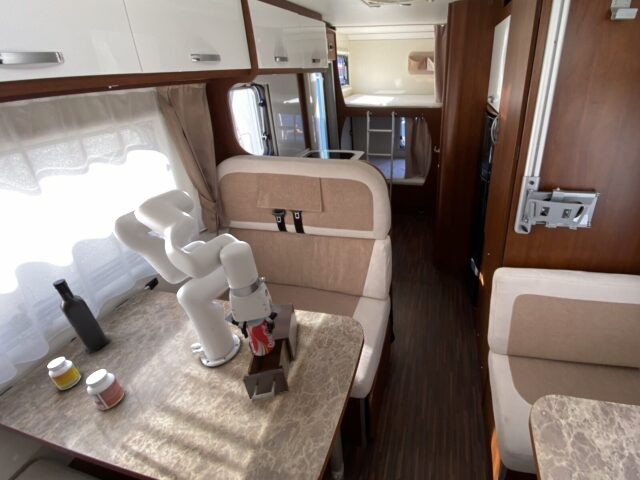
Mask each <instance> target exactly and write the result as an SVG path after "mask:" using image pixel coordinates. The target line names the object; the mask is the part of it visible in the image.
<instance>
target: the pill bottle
mask: <svg viewBox="0 0 640 480" xmlns="http://www.w3.org/2000/svg"><path fill="white" fill-rule="evenodd" d="M85 383H86V386H87V389H86V391H87V393H88V395H89V396H90V398H91V399H92V401H94V403H95V404H96V406H97V407H98V409H99V410H103V411H105V410H109V409H111V408H113V407H115V406H116V405H117V404H118V403H120V401H122V399H123V397H124V395H125V391H124V389H123V388H122V386H121V384H120V382H118V380H117V378H116V377H115V375H114V374H113V373H110V372H108V371H107V370H106V369H104V368H102V369H99V370H96V371H94V372H92V373H91V374H90V375H89V376H88V377H87V379H86V380H85Z"/></svg>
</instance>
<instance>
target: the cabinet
mask: <svg viewBox="0 0 640 480" xmlns="http://www.w3.org/2000/svg"><path fill="white" fill-rule="evenodd" d="M280 305H281V306H282V310H281V312H280V313H279V314H278V315H277V317H276V318H275V319H274V323H275V329H273V332H272V335H273V339H274V342H275V341H280V340H285V339H287V342H288V346H289V350H290V360H289V361H293V360H295V356H296V355H295V354H296V347H297V336H298V335H297V334H298V324H299V323H298V320H297V316H296V311H295V307H294V303H293V302H291V303H286V304H280ZM273 311H274V309H272V308H271V312H273ZM248 347H249V350H250V353H251V355H252V351H253V349H252V346H251V343H250V341H249V342H248Z"/></svg>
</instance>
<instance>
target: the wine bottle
mask: <svg viewBox="0 0 640 480" xmlns="http://www.w3.org/2000/svg"><path fill="white" fill-rule="evenodd" d="M52 286H53V287H54V289H55V290H56V291H57V293H58V294H59V296H60V298H61V300H62V301H61V302H60V304H59V307H60V308H59V309H60V310H61V311H62V313H63V315H64V317H65V318H66V319H67V321H68V323H69V324H70V326H71V327H72V329H73V331H74V332H75V333H76V336H77V337H78V338H79V340H80V341H81V343H82V344H83V346H84V348H85V349H86V350H87V351H88V352H89V353H93V352H96V351H97V350H99V349H100V348H102V347H104V346H105V345H107V344H108V343H109V340H108V338H107V336H106V334H105V333H104V331H103V329H102V326H100V323H99V322H98V320H97V319H96V318H95V316H94V313H93V312H92V310H91V309H90V307H89V306H88V304H87V302H86V300H84V298H83V297H82V296H81V295H77V294H74V293H73V292H72V290H71V288H70V287H69V285H68V282H67V281H66V279H65V278H61V279H57V280H55V281H54V282H52Z"/></svg>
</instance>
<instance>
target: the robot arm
mask: <svg viewBox="0 0 640 480" xmlns="http://www.w3.org/2000/svg"><path fill="white" fill-rule="evenodd" d="M194 204H195V203H194V200H193V198H192V197H191V195H189V193H188V192H186V191H184V190H182V189H177V188H176V189H171V190H168V191H166V192H162V193H160V194H158V195H154V196H152V197H150V198H149V197H148V198H147V199H145V200H143V201H142V202H140V203H139V204H138V205H137V206H136V207H135V208H133V209H129V210H128V211H126V212H123V213H122V214H119V215H118V216H116V217H115V218H114V219H113V220H112V221H111V224H110V228H111V231H112V233H113V235H114V236H115V238H116V240H118V241H119V243H121V244H122V245H123V246H124V247H126V248H128V249H129V250H131V251H133V252H135V253H136V254H138V255H139V256H141V257H142V258H144V260H145V261H147V262H148V264H149V265H150V266H151V267H152V268H153V269H154V270H155V271H156V272H157V273H158V275H160V276H161V278H163V279H164V280H165V281H166V282H168V283H169V284H172V285H176V284H179V283H181V282H183V281H185V280H187V279H189V278H191V279H189V280H188V281H186V282H185V283H184V284H182V285H181V287H180V288H179V289H178V291H177V293H176V299H177V301H178V303H179V305H180V306H181V307H182V309H183V310H184V311H185V313H186V314H187V316H188V318H189V320H190V322H191V324H192V327H193V329H194V331H195V333H196V336H197V338H198V341H199V343H198V342H197V343H193V344H191V346H190V347H191V349H190V350H191V351H192V355H193V356H195V355H199V354H200V360H201V363H202V364H203V365H204V366H207V367H218V366H221V365H223V364H225V363H227V362H228V361H230V360H231V359H232V358H233V357H235V356H236V354H237V353H238V351H239V350H240V347H241V339H240V338H239V336H238V335H237V334H234V333H233V332H232V329H231V326H230V324H229V323H231V324H232V325H234V326H236V327H237V329H239V330H240V332H241V335H243V336H244V339H249V337H248V334H247V330H246V324H247V321H249V320H255V319H260V318H264V319H265V320H266V321H267V326H268V330H269V333H270V334H272V332H273V329H275V323H274V319H275V318H276V317H277V315H278V314H279V313H280V312H281V310H282V306H281V305H282V304H278V303H276V302H274V301H273V298H272V296H271V293H270V291H269V290H268V287H267V285H266V284H265V283H266V277H261V276H260V274H259V272H258V269H257V268H258V267H257V265H256V261H255V257H254V253H253V250H252V247H251V245H250V244H249V243H248V242H247V241H240V240H239V239H238V238H236V237H235V236H233V235H232V234H229V233H221V234H220V235H218V236H216V237H214V238H212V239H211V240H208V241H203V240H195V241H192V242H191V243H190V242H189V244H187V245H186V243H187V242H188V241H189V240H190V239H191V237H192V236H193V235H194V233H195V231H196V227H197V222H196V219H195V218H194V217H193V216H191V215H190V214H189V213H191V212H192V211H193V210H194V206H195V205H194ZM152 231H153V232H155V233H156V234H153V233H152V234H151V233H150V232H152ZM228 289H230V290H229V295H228V297H229V307H230V311H228V313H227V314H226V313H225V312H226V311H225V309H224V308H223V306H222V305H221V304H220V303H219V302H217V301H214V300H216V299H217V298H218V297H219V296H220V295H222V294H223V293H225V292H226V291H228ZM271 308H272V309H274V311H273V312H271Z"/></svg>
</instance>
